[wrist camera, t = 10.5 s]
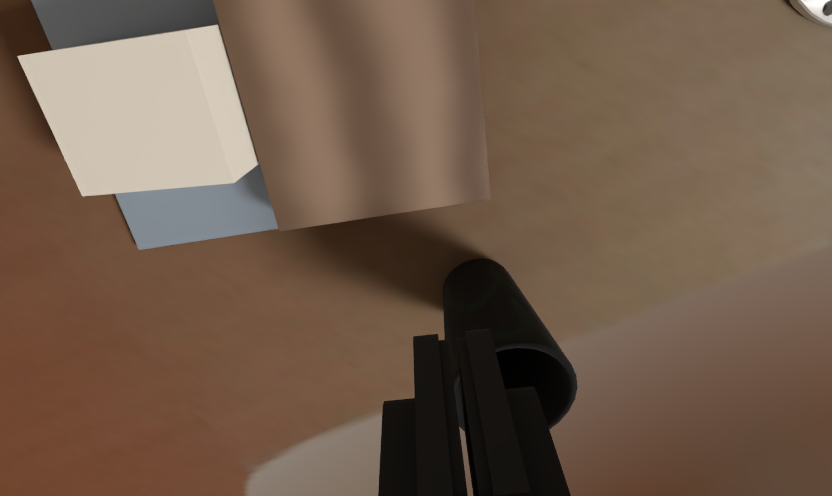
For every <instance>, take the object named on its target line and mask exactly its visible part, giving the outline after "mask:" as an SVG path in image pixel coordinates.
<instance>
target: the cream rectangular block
mask: <svg viewBox="0 0 832 496" xmlns="http://www.w3.org/2000/svg"><path fill="white" fill-rule="evenodd" d="M17 57H18V59H19V61H20V64H21V66H22V68H23V70H24V72H25V74H26V76H27V79H28V81H29V83H30V85H31V87H32V89H33V91H34V94H35V96H36V98H37V100H38V102H39V104H40V107H41V109H42V111H43V113H44V115H45V117H46V119H47V122H48V124H49V126H50V128H51V130H52V132H53V134H54V137H55V139H56V141H57V143H58V145H59V147H60V150H61V152H62V154H63V156H64V158H65V160H66V162H67V165H68V167H69V169H70V171H71V173H72V175H73V177H74V180H75V182H76V184H77V186H78V188H79V190H80V193H81V195H82V196H92V195H104V194H115V193H127V192H138V191H150V190H161V189H173V188H184V187H196V186H207V185H219V184H230V183H235V182H236V181H237V180H239V179H240V178H241V177H243V176H244V175H245V174H246V173H248V172H249V171H250V170H252V169H253V168H254V167H255V166H257V165H258V164H259V160H258V156H257V153H256V149H255V146H254V142H253V139H252V135H251V132H250V128H249V125H248V121H247V118H246V115H245V111H244V108H243V104H242V101H241V97H240V94H239V90H238V87H237V83H236V80H235V76H234V73H233V69H232V66H231V62H230V59H229V55H228V52H227V49H226V45H225V42H224V38H223V35H222V31H221V28H220V24H218V25H212V26H205V27H199V28H192V29H186V30H179V31H173V32H166V33H160V34H153V35H147V36H140V37H134V38H127V39H121V40H114V41H108V42H102V43H95V44H89V45H82V46H76V47H69V48H63V49H57V50H51V51H45V52H39V53H33V54H27V55H21V56H17Z"/></svg>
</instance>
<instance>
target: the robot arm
mask: <svg viewBox="0 0 832 496" xmlns="http://www.w3.org/2000/svg"><path fill="white" fill-rule="evenodd" d="M789 1H790V3H791V4H792V6H793V7H794V8H795V9H796V10H797V11H798V12H799V13H801V14H802V15H803V16H804V17H805V18H807V19H809V20H811V21H813V22H815V23H817V24H820V25H823V26H829V27H832V0H789ZM456 344H457V355H458V365H459V376H460V386H461V396H462V407H463V417H464V427H465V436H466V444H467V452H468V459H469V466H470V474H471V481H472V488H473V495H474V496H571V495H570V492H569V489H568V486H567V483H566V480H565V477H564V474H563V471H562V468H561V464H560V461H559V459H558V455H557V452H556V449H555V446H554V443H553V440H552V437H551V434H550V431H549V428H548V425H547V421H546V418H545V415H544V412H543V409H542V406H541V403H540V400H539V397H538V394H537V391H536V389H535V388H534V386H532V387H522V388H512V389H505V387H504V383H503V379H502V375H501V371H500V367H499V363H498V359H497V355H496V351H495V347H494V343H493V339H492V335H491V331H490V329H481V330H471V331H465V338H459V339H456ZM413 347H414V385H415V398H413V399H403V400H393V401H384V404H383V414H382V436H381V454H380V474H379V495H378V496H467V488H466V479H465V471H464V463H463V454H462V446H461V439H460V430H459V422H458V414H457V406H456V398H455V390H454V382H453V374H452V366H451V358H450V350H449V342H448V340H440V341H439V340H438V334H433V335H424V336H414V337H413Z"/></svg>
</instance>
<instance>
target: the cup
mask: <svg viewBox="0 0 832 496" xmlns="http://www.w3.org/2000/svg"><path fill="white" fill-rule="evenodd" d="M443 305H444V331H445V340H448V342H449V350H450V358H451V366H452V374H453V382H454V390H455V398H456V406H457V414H458V422H459V427H460V428H461V429H463V430H464V431H465V427H464V417H463V407H462V396H461V386H460V376H459V365H458V355H457V344H456V339H459V338H465V331H471V330H481V329H490V331H491V335H492V339H493V343H494V347H495V351H496V355H497V359H498V363H499V367H500V371H501V375H502V379H503V383H504V387H505V389H512V388H522V387H532V386H534V388H535V389H536V391H537V394H538V397H539V400H540V403H541V406H542V409H543V412H544V415H545V418H546V421H547V425H548V428H549V429H551V428H552V427H553V426H554V425H556V424H557V423H558V422H559V421H560V420H561V419H562V418H563V417H564V416H565V415H566V413H567V412H568V411H569V410H570V407H571V406H572V404H573V402H574V400H575V396H576V391H577V379H576V374H575V372H574V369H573V367H572V365H571V364H570V362H569V360H568V359H567V358H566V356H565V355H564V353H563V352H562V350H561V349H560V347H559V346H558V344H557V343H556V341H555V340H554V339H553V337H552V336H551V334H550V333H549V331H548V330H547V328H546V327H545V325H544V324H543V323H542V321H541V320H540V318H539V317H538V315H537V314H536V312H535V311H534V309H533V308H532V306H531V305H530V304H529V302H528V301H527V299H526V298H525V296H524V295H523V293H522V292H521V290H520V289H519V288H518V286H517V285H516V283H515V282H514V280H513V279H512V277H511V276H510V274H509V273H508V272H507V271H506V269H505V268H504V267H503V266H501V265H500V264H498V263H496V262H493V261H490V260H484V259H477V260H471V261H468V262H465V263H463V264H461V265H459V266H458V267H456V268H455V269H454V270H453V271H452V272H451V273H450V274H449V276H448V277H447V279H446V281H445V284H444V287H443Z"/></svg>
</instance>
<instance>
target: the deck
mask: <svg viewBox="0 0 832 496" xmlns="http://www.w3.org/2000/svg"><path fill="white" fill-rule="evenodd" d="M213 3H214V7H215V10H216V14H217V17H218V21H219V24H220V28H221V31H222V35H223V38H224V42H225V45H226V49H227V52H228V55H229V59H230V62H231V66H232V69H233V73H234V76H235V80H236V83H237V87H238V90H239V94H240V97H241V101H242V104H243V108H244V111H245V115H246V118H247V121H248V125H249V128H250V132H251V135H252V139H253V142H254V146H255V149H256V153H257V156H258V160H259V163H260V167H261V170H262V174H263V177H264V181H265V184H266V187H267V191H268V194H269V198H270V201H271V205H272V208H273V212H274V215H275V219H276V222H277V226H278V229H279V232H280V231H286V230H293V229H299V228H306V227H312V226H319V225H325V224H332V223H339V222H345V221H352V220H358V219H365V218H371V217H378V216H384V215H391V214H397V213H404V212H410V211H417V210H423V209H430V208H436V207H443V206H449V205H456V204H462V203H469V202H475V201H482V200H489V199H491V198H490V185H489V172H488V159H487V146H486V134H485V121H484V108H483V95H482V82H481V69H480V56H479V44H478V31H477V18H476V5H475V0H213Z"/></svg>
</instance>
